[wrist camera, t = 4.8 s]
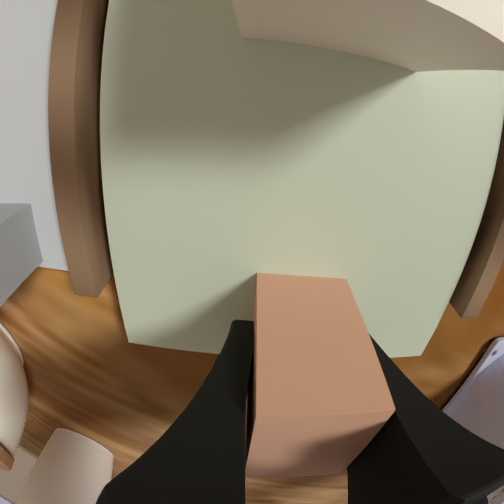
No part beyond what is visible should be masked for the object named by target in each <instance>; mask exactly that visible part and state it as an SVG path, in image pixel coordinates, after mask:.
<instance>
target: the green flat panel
mask: <svg viewBox="0 0 504 504" xmlns="http://www.w3.org/2000/svg"><path fill="white" fill-rule="evenodd" d="M503 120H504V71H497V70H442V71H424V72H415V71H412V70H409V69H406V68H403V67H399V66H396V65H393V64H389V63H386V62H383V61H379V60H375V59H372V58H368V57H364V56H360V55H355V54H351V53H347V52H342V51H337V50H332V49H327V48H321V47H316V46H310V45H303V44H296V43H288V42H280V41H270V40H258V39H243V38H241V34H240V30H239V26H238V23H237V19H236V15H235V11H234V8H233V4H232V0H109V5H108V11H107V18H106V26H105V34H104V44H103V55H102V68H101V88H100V150H101V170H102V185H103V197H104V207H105V216H106V225H107V233H108V240H109V247H110V254H111V260H112V266H113V272H114V278H115V283H116V288H117V293H118V298H119V303H120V308H121V312H122V317H123V321H124V325H125V330H126V334H127V338H128V342H130V343H136V344H142V345H148V346H155V347H162V348H169V349H177V350H185V351H194V352H203V353H213V354H220V352H221V350H222V348H223V346H224V344H225V341H226V339H227V336H228V334H229V331H230V327H231V323H232V321H234V320H235V319H236V320H249V321H254V347H253V354H252V362H251V370H250V377H249V385H248V392H247V399H246V429H245V477H307V476H322V475H333V474H341V473H342V472H343V471H344V470H345V469H346V468H347V467H348V466H349V465H350V463H351V462H352V461H353V460H354V459H355V458H356V457H357V456H358V455H359V454H360V453H361V451H362V450H363V449H364V448H365V447H366V446H367V445H368V443H369V442H370V441H371V440H372V439H373V438H374V436H375V435H376V434H377V433H378V432H379V430H380V429H381V428H382V427H383V425H384V424H385V423H386V422H387V420H388V419H389V418H390V416H391V415H392V414H393V413H394V411H395V410H396V409H395V406H394V403H393V400H392V397H391V394H390V391H389V388H388V385H387V382H386V379H385V376H384V374H383V371H382V368H381V365H380V362H379V360H378V357H377V354H376V352H375V349H374V346H373V344H372V341H371V338H370V336H369V334H370V335H371V336H372V338H373V339H374V340H375V341H376V342H377V344H378V345H379V346H380V347H381V348H382V350H383V351H384V352H385V353H386V354H387V355H388V357H389V358H391V357H407V356H420V355H421V354H422V352H423V351H424V349H425V347H426V345H427V344H428V342H429V340H430V338H431V336H432V334H433V333H434V331H435V329H436V327H437V325H438V323H439V321H440V319H441V317H442V315H443V313H444V311H445V309H446V307H447V305H448V303H449V301H450V298H451V296H452V294H453V292H454V290H455V287H456V285H457V283H458V281H459V278H460V276H461V273H462V271H463V269H464V266H465V264H466V261H467V258H468V256H469V253H470V251H471V248H472V245H473V242H474V240H475V237H476V234H477V231H478V228H479V225H480V222H481V218H482V215H483V212H484V209H485V205H486V202H487V198H488V194H489V191H490V187H491V183H492V179H493V174H494V170H495V166H496V161H497V156H498V151H499V145H500V140H501V134H502V127H503Z"/></svg>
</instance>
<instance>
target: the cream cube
mask: <svg viewBox="0 0 504 504" xmlns="http://www.w3.org/2000/svg"><path fill="white" fill-rule="evenodd" d="M232 4H233V8H234V11H235V15H236V19H237V23H238V26H239V30H240V34H241V38H243V39H258V40H270V41H280V42H288V43H296V44H303V45H310V46H316V47H321V48H327V49H332V50H337V51H342V52H347V53H351V54H355V55H360V56H364V57H368V58H372V59H375V60H379V61H383V62H386V63H389V64H393V65H396V66H399V67H403V68H406V69H409V70H412V71H415V72H424V71H442V70H497V71H504V0H232Z"/></svg>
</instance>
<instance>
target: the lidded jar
mask: <svg viewBox="0 0 504 504" xmlns="http://www.w3.org/2000/svg"><path fill="white" fill-rule="evenodd" d="M23 366H24V358H23V355H22V352H21V350H20V348H19V346H18V345H17V343H16V341H15V340H14V338H13V337H12V336H11V334H10V333H9V332H8V330H7V329H6V328H5V327H4V326H3V325H2V323H1V322H0V468H1V469H4V470H6V471H9V470H11V468H12V465H13V462H14V458H13V457H14V455H15V453H16V450H17V448H18V445H19V443H20V440H21V437H22V434H23V431H24V427H25V424H26V419H27V413H28V407H29V392H28V384H27V379H26V375H25V371H24V368H23Z"/></svg>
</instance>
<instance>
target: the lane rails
mask: <svg viewBox="0 0 504 504" xmlns="http://www.w3.org/2000/svg"><path fill="white" fill-rule="evenodd" d="M108 5H109V0H58V3H57V9H56V14H55V21H54V28H53V35H52V44H51V54H50V66H49V86H48V128H49V149H50V162H51V173H52V182H53V190H54V198H55V205H56V211H57V217H58V223H59V229H60V234H61V239H62V244H63V249H64V253H65V258H66V262H67V266H68V271H69V275H70V278H71V282H72V286H73V290H74V293H75V294H77V295H83V296H89V297H96V298H97V297H98V296H99V294H100V293H101V291H102V290H103V288H104V287H105V286H106V284H107V283H108V281H109V280H110V278H111V277H112V275H113V274H114V272H113V266H112V260H111V254H110V247H109V240H108V233H107V225H106V216H105V207H104V197H103V185H102V170H101V150H100V88H101V68H102V55H103V44H104V34H105V26H106V18H107V11H108ZM503 261H504V120H503V127H502V134H501V140H500V145H499V151H498V156H497V161H496V166H495V170H494V174H493V179H492V183H491V187H490V191H489V194H488V198H487V202H486V205H485V209H484V212H483V215H482V218H481V222H480V225H479V228H478V231H477V234H476V237H475V240H474V242H473V245H472V248H471V251H470V253H469V256H468V258H467V261H466V264H465V266H464V269H463V271H462V273H461V276H460V278H459V281H458V283H457V285H456V287H455V290H454V292H453V294H452V296H451V298H450V301H449V302H450V303H451V305H452V306H453V307H454V309H455V310H456V312H457V313H458V314H459V316H460V317H461V318H477V316H478V314H479V312H480V310H481V308H482V307H483V305H484V303H485V301H486V299H487V297H488V294H489V292H490V290H491V288H492V286H493V284H494V282H495V279H496V277H497V275H498V273H499V270H500V268H501V266H502V263H503Z"/></svg>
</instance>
